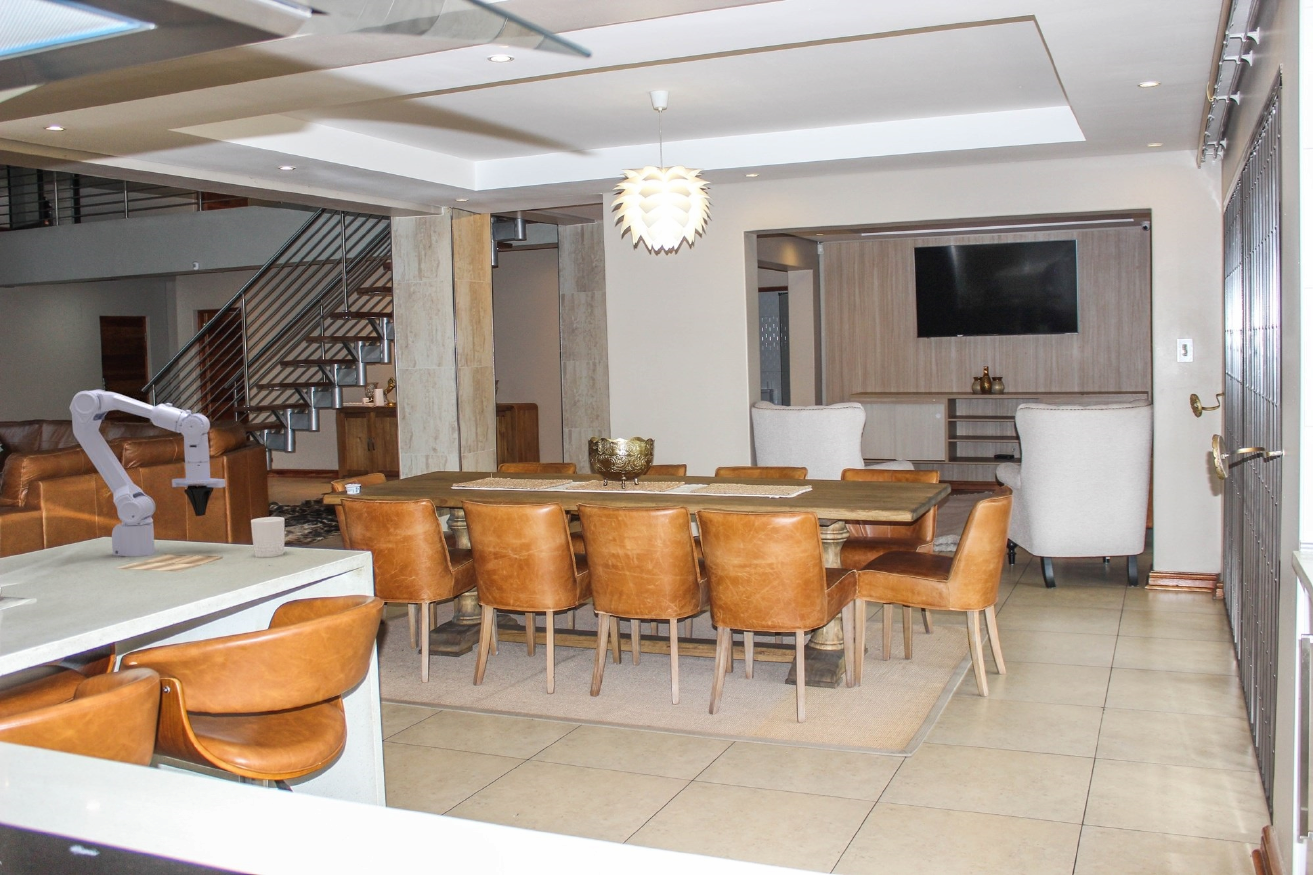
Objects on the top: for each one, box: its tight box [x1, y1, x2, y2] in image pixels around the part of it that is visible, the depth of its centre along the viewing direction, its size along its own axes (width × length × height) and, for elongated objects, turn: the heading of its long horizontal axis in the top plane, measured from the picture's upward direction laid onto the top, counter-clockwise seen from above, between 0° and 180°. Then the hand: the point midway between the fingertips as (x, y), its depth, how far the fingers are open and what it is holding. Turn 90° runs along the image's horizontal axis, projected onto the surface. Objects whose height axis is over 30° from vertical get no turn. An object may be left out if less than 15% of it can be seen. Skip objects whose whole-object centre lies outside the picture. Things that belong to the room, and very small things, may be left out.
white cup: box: [250, 516, 285, 558], centre depth 282 cm, size 8×8×10 cm
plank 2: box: [174, 554, 224, 566], centre depth 276 cm, size 8×8×1 cm
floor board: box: [115, 561, 201, 573], centre depth 269 cm, size 18×8×1 cm, turn 73°
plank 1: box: [143, 553, 195, 563], centre depth 278 cm, size 8×8×1 cm
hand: (200, 515), depth 287 cm, fingers closed
